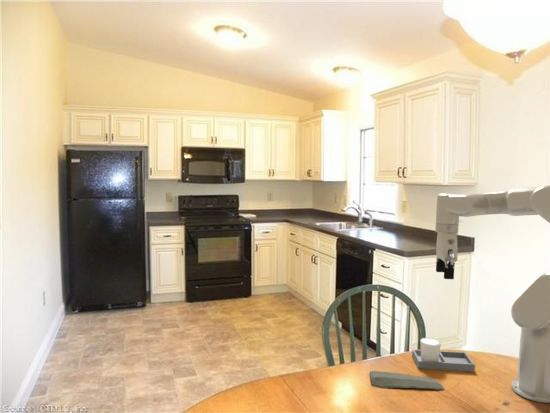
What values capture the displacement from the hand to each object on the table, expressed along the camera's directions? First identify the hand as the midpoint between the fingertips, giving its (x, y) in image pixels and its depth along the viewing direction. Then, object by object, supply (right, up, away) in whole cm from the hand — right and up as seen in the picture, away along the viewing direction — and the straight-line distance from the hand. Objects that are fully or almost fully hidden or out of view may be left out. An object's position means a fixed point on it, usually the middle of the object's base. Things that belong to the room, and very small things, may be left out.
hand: (444, 275), depth 150 cm
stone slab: (-19, -33, -15) cm, 41 cm away
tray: (-2, -31, -3) cm, 31 cm away
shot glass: (-6, -30, -3) cm, 31 cm away
